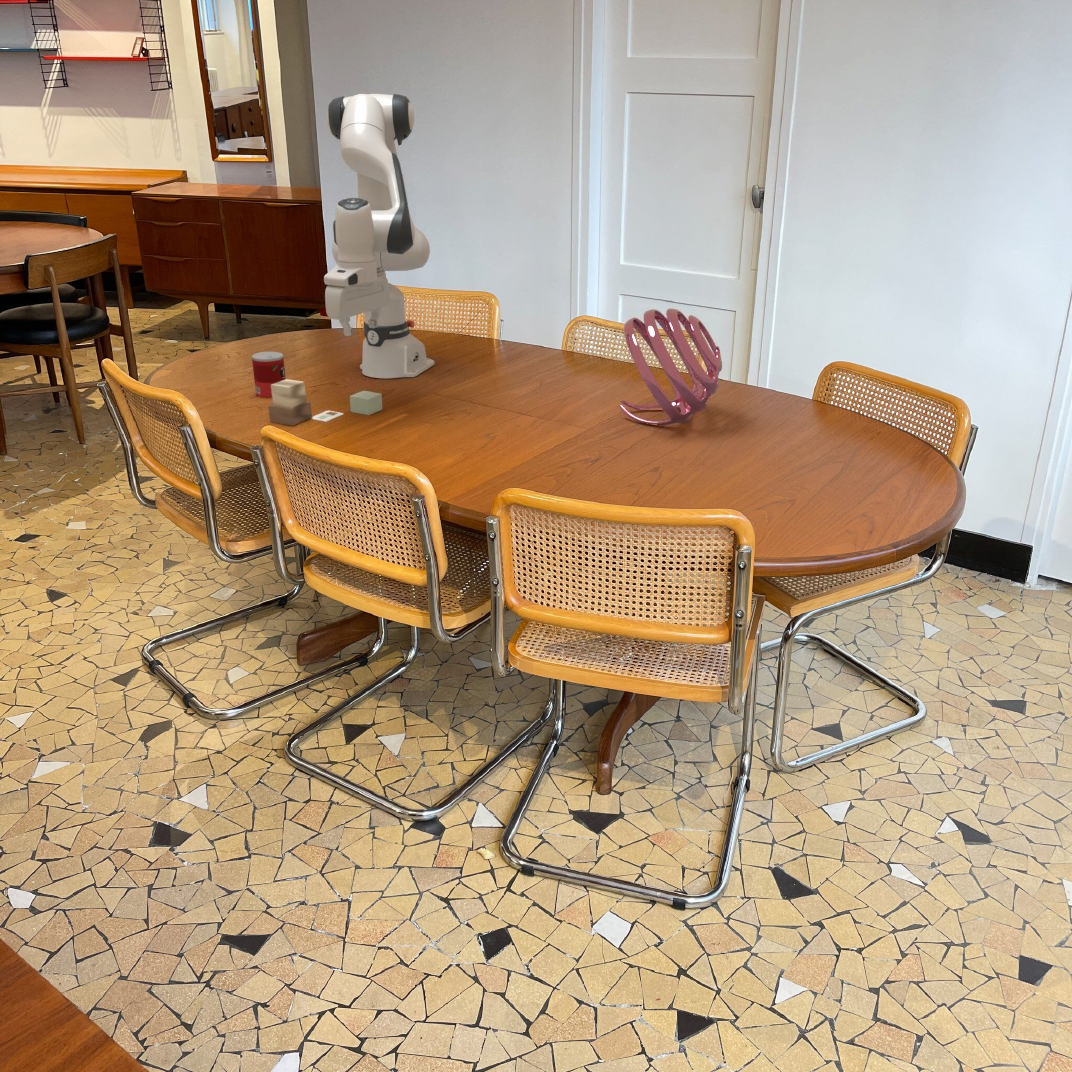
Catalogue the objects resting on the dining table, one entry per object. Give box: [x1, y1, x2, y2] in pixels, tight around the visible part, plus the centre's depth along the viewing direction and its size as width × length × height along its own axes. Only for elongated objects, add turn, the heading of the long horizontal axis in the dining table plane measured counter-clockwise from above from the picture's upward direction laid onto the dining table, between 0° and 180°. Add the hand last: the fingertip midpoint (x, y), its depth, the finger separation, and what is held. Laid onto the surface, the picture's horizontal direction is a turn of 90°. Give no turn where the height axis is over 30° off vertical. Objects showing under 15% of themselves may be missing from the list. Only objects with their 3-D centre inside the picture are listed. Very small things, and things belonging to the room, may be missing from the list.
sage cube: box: [349, 390, 383, 416], centre depth 247 cm, size 6×6×5 cm
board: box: [309, 409, 345, 423], centre depth 242 cm, size 18×18×1 cm
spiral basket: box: [618, 308, 723, 426], centre depth 242 cm, size 28×28×27 cm
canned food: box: [251, 351, 287, 399], centre depth 258 cm, size 8×8×11 cm
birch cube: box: [271, 378, 308, 408], centre depth 238 cm, size 6×6×5 cm
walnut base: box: [267, 400, 313, 427], centre depth 240 cm, size 7×7×4 cm
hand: (361, 331), depth 239 cm, fingers open, 8 cm apart
